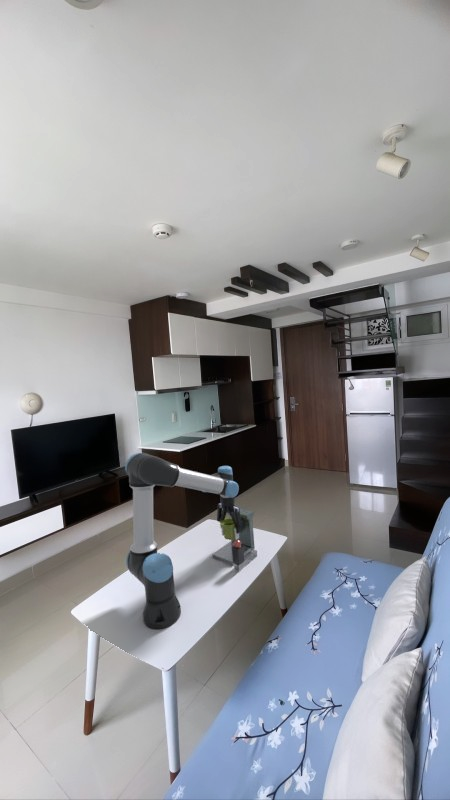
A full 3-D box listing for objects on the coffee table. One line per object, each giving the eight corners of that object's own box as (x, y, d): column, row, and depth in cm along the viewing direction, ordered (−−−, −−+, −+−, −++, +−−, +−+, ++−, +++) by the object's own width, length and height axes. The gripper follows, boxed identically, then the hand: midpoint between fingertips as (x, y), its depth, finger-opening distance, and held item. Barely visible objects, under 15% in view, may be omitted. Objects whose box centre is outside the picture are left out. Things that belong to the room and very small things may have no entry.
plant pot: (218, 536, 174) (217, 520, 174) (234, 531, 178) (232, 516, 178) (225, 543, 166) (224, 527, 165) (242, 538, 170) (240, 522, 169)
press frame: (239, 571, 157) (236, 531, 156) (209, 559, 169) (206, 522, 168) (264, 550, 175) (261, 513, 173) (236, 540, 187) (233, 506, 186)
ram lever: (239, 565, 156) (237, 543, 156) (233, 562, 159) (231, 540, 158) (244, 561, 160) (242, 539, 159) (237, 558, 162) (236, 537, 161)
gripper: (247, 496, 167) (250, 538, 168) (216, 490, 180) (220, 529, 182) (238, 501, 161) (242, 544, 162) (207, 494, 175) (211, 534, 176)
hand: (230, 536), depth 172 cm, fingers closed on plant pot, 8 cm apart
